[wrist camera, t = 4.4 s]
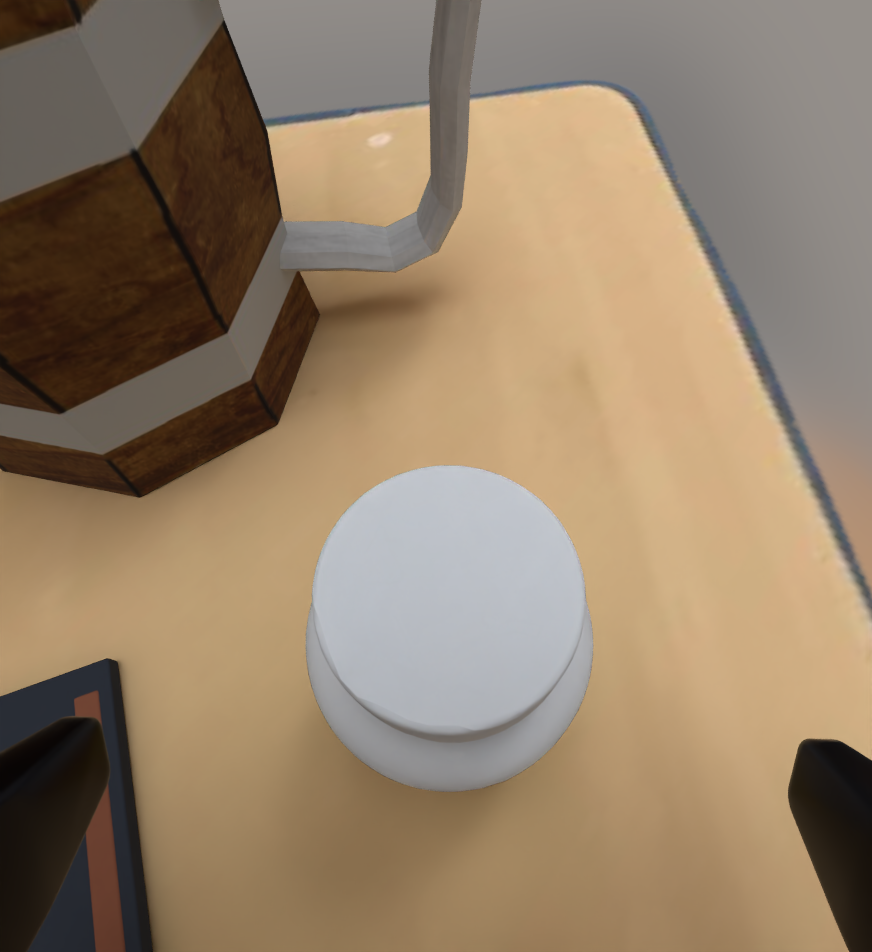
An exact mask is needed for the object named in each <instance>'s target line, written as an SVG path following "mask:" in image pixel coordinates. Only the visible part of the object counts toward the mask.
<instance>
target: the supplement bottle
mask: <svg viewBox="0 0 872 952" xmlns="http://www.w3.org/2000/svg"><path fill="white" fill-rule="evenodd" d="M306 658H307V666H308V673H309V677H310V682H311V686H312V689H313V692H314V695H315V698H316V701H317V703H318V705H319V708H320V710H321V712H322V713H323V715H324V717H325V719H326V721H327V722H328V724H329V726H330V728H331V729H332V730H333V732H334V733H335V734H336V736H337V737H338V738H339V739H340V741H341V742H342V743H343V744H344V745H345V746H346V747H347V748H348V749H349V750H350V751H351V752H352V753H353V754H354V755H355V756H356V757H357V758H358V759H360V760H361V761H362V762H363V763H365V764H366V765H367V766H369V767H370V768H372V769H373V770H375V771H377V772H378V773H380V774H382V775H383V776H385V777H387V778H389V779H391V780H394V781H396V782H399V783H402V784H405V785H408V786H411V787H414V788H418V789H424V790H430V791H439V792H458V791H467V790H475V789H480V788H485V787H488V786H491V785H494V784H497V783H500V782H503V781H506V780H508V779H510V778H512V777H514V776H516V775H517V774H519V773H521V772H522V771H524V770H525V769H527V768H529V767H530V766H531V765H533V764H534V763H535V762H537V761H538V760H539V759H540V758H541V757H542V756H544V755H545V754H546V753H547V752H548V751H549V750H550V749H551V748H552V747H553V746H554V745H555V743H556V742H557V741H558V740H559V739H560V738H561V736H562V735H563V733H564V732H565V731H566V729H567V728H568V726H569V725H570V723H571V722H572V720H573V718H574V716H575V715H576V713H577V711H578V710H579V707H580V705H581V703H582V700H583V698H584V695H585V692H586V689H587V686H588V682H589V678H590V673H591V667H592V658H593V632H592V623H591V618H590V613H589V609H588V605H587V602H586V594H585V583H584V576H583V572H582V568H581V564H580V561H579V558H578V555H577V552H576V550H575V547H574V545H573V543H572V541H571V539H570V537H569V535H568V534H567V532H566V530H565V529H564V527H563V525H562V524H561V522H560V521H559V520H558V518H557V517H556V516H555V515H554V514H553V512H552V511H551V510H550V509H549V508H548V507H547V506H546V505H545V504H544V503H543V502H542V501H541V500H540V499H539V498H538V497H536V496H535V495H534V494H532V493H531V492H530V491H528V490H527V489H525V488H524V487H522V486H521V485H519V484H517V483H515V482H513V481H512V480H510V479H508V478H505V477H503V476H501V475H498V474H496V473H493V472H490V471H487V470H483V469H478V468H472V467H466V466H451V465H444V466H431V467H424V468H420V469H415V470H412V471H408V472H405V473H402V474H398V475H396V476H394V477H392V478H390V479H387V480H385V481H384V482H382V483H380V484H378V485H377V486H375V487H373V488H372V489H370V490H369V491H367V492H366V493H364V494H363V495H362V496H361V497H360V498H359V499H358V500H357V501H355V502H354V503H353V504H352V505H351V506H350V507H349V508H348V509H347V510H346V511H345V512H344V514H343V515H342V516H341V518H340V519H339V520H338V522H337V523H336V525H335V526H334V528H333V529H332V531H331V533H330V534H329V536H328V538H327V539H326V542H325V544H324V546H323V548H322V551H321V553H320V556H319V559H318V563H317V566H316V570H315V575H314V581H313V588H312V603H311V607H310V612H309V616H308V622H307V630H306Z"/></svg>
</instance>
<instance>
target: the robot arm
mask: <svg viewBox="0 0 872 952" xmlns="http://www.w3.org/2000/svg"><path fill="white" fill-rule="evenodd" d="M109 777H110V762H109V757H108V752H107V748H106V743H105V738H104V734H103V729H102V725H101V723H100V721H99V720H98V719H97V718H94V717H83V716H67V717H63V718H61V719H59V720H57V721H55V722H53V723H51V724H50V725H48V726H46V727H44V728H43V729H41V730H39V731H37V732H35V733H34V734H32V735H30V736H28V737H27V738H25V739H23V740H21V741H20V742H18V743H16V744H14V745H12V746H11V747H9V748H7V749H5V750H4V751H2V752H0V952H27V951H28V950H29V948H30V946H31V944H32V942H33V941H34V939H35V937H36V935H37V934H38V932H39V930H40V928H41V926H42V924H43V922H44V921H45V919H46V917H47V915H48V913H49V911H50V909H51V907H52V905H53V903H54V901H55V899H56V897H57V895H58V893H59V891H60V888H61V886H62V884H63V882H64V880H65V878H66V875H67V873H68V871H69V869H70V867H71V864H72V862H73V860H74V858H75V856H76V853H77V851H78V849H79V847H80V845H81V842H82V840H83V838H84V836H85V834H86V831H87V829H88V827H89V825H90V823H91V820H92V818H93V816H94V814H95V812H96V810H97V807H98V805H99V803H100V801H101V799H102V796H103V794H104V792H105V790H106V787H107V785H108V781H109ZM788 799H789V805H790V808H791V811H792V814H793V817H794V819H795V821H796V824H797V826H798V829H799V831H800V834H801V836H802V839H803V841H804V844H805V846H806V849H807V851H808V854H809V856H810V859H811V861H812V864H813V866H814V869H815V871H816V873H817V876H818V878H819V881H820V883H821V886H822V888H823V891H824V893H825V896H826V898H827V901H828V903H829V906H830V908H831V911H832V913H833V916H834V918H835V920H836V923H837V925H838V928H839V930H840V932H841V934H842V937H843V939H844V941H845V944H846V946H847V948H848V950H849V952H872V760H870V759H868V758H867V757H865V756H864V755H862V754H860V753H859V752H857V751H856V750H854V749H853V748H851V747H849V746H848V745H846V744H844V743H843V742H841V741H838V740H833V739H806V740H803V741H802V742H801V743H800V745H799V747H798V751H797V755H796V759H795V763H794V767H793V771H792V775H791V779H790V783H789V788H788Z"/></svg>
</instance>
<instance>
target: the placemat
mask: <svg viewBox="0 0 872 952" xmlns="http://www.w3.org/2000/svg"><path fill="white" fill-rule="evenodd" d="M67 716H83V717H94V718H97V719H98V720H99V721H100V723H101V725H102V729H103V734H104V738H105V743H106V748H107V752H108V757H109V762H110V777H109V781H108V785H107V787H106V790H105V792H104V794H103V796H102V799H101V801H100V803H99V805H98V807H97V810H96V812H95V814H94V816H93V818H92V820H91V823H90V825H89V827H88V829H87V831H86V834H85V836H84V838H83V840H82V842H81V845H80V847H79V849H78V851H77V853H76V856H75V858H74V860H73V862H72V864H71V867H70V869H69V871H68V873H67V875H66V878H65V880H64V882H63V884H62V886H61V888H60V891H59V893H58V895H57V897H56V899H55V901H54V903H53V905H52V907H51V909H50V911H49V913H48V915H47V917H46V919H45V921H44V922H43V924H42V926H41V928H40V930H39V932H38V934H37V935H36V937H35V939H34V941H33V942H32V944H31V946H30V948H29V950H28V951H27V952H153V949H152V941H151V933H150V924H149V916H148V908H147V900H146V891H145V883H144V875H143V867H142V859H141V850H140V842H139V834H138V826H137V817H136V809H135V801H134V793H133V785H132V776H131V768H130V760H129V752H128V743H127V735H126V727H125V719H124V711H123V702H122V694H121V686H120V678H119V669H118V663H117V661H115V660H112V659H108V658H107V659H104V660H101V661H98V662H96V663H93V664H90V665H87V666H84V667H82V668H79V669H76V670H73V671H70V672H68V673H65V674H62V675H59V676H57V677H54V678H51V679H48V680H45V681H43V682H40V683H37V684H34V685H31V686H29V687H26V688H23V689H20V690H17V691H15V692H12V693H9V694H6V695H3V696H1V697H0V752H2V751H4V750H5V749H7V748H9V747H11V746H12V745H14V744H16V743H18V742H20V741H21V740H23V739H25V738H27V737H28V736H30V735H32V734H34V733H35V732H37V731H39V730H41V729H43V728H44V727H46V726H48V725H50V724H51V723H53V722H55V721H57V720H59V719H61V718H63V717H67Z"/></svg>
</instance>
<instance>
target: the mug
mask: <svg viewBox="0 0 872 952" xmlns="http://www.w3.org/2000/svg"><path fill="white" fill-rule="evenodd" d="M480 7H481V0H436V8H435V17H434V26H433V36H432V44H431V53H430V66H429V89H430V90H429V92H430V151H431V176H430V178H429V181H428V183H427V186H426V189H425V191H424V194H423V196H422V199H421V202H420V204H419V207H418V209H417V212H415V213H413V214H411V215H409V216H407V217H405V218H403V219H401V220H399V221H397V222H395V223H393V224H391V225H389V226H387V227H380V226H373V225H366V224H358V223H351V222H344V221H319V222H284V221H283V217H282V213H281V207H280V201H279V196H278V190H277V184H276V178H275V173H274V167H273V161H272V155H271V150H270V144H269V138H268V133H267V129H266V126H265V124H264V121H263V119H262V116H261V114H260V111H259V109H258V106H257V103H256V101H255V98H254V95H253V93H252V90H251V88H250V86H249V83H248V80H247V77H246V75H245V73H244V70H243V67H242V65H241V62H240V59H239V57H238V54H237V52H236V49H235V46H234V44H233V41H232V39H231V36H230V34H229V31H228V28H227V26H226V23H225V21H224V18H223V14H222V12H221V8H220V4H219V1H218V0H0V469H1V470H2V471H7V472H12V473H17V474H22V475H27V476H33V477H38V478H43V479H48V480H53V481H58V482H64V483H69V484H74V485H79V486H84V487H90V488H95V489H100V490H105V491H110V492H116V493H121V494H126V495H131V496H136V497H141V496H143V495H145V494H147V493H149V492H151V491H153V490H154V489H156V488H158V487H160V486H162V485H164V484H166V483H168V482H170V481H171V480H173V479H175V478H177V477H179V476H181V475H183V474H185V473H186V472H188V471H190V470H192V469H194V468H196V467H198V466H200V465H202V464H203V463H205V462H207V461H209V460H211V459H213V458H215V457H217V456H219V455H220V454H222V453H224V452H226V451H228V450H230V449H232V448H234V447H236V446H237V445H239V444H241V443H243V442H245V441H247V440H249V439H251V438H252V437H254V436H256V435H258V434H260V433H262V432H264V431H266V430H268V429H269V428H271V427H273V426H275V425H277V424H278V422H279V419H280V417H281V414H282V411H283V409H284V406H285V404H286V401H287V398H288V396H289V393H290V391H291V388H292V385H293V383H294V380H295V378H296V375H297V372H298V370H299V367H300V365H301V362H302V359H303V357H304V354H305V352H306V349H307V347H308V344H309V341H310V339H311V336H312V334H313V331H314V328H315V326H316V323H317V321H318V318H319V315H320V314H319V312H318V310H317V308H316V306H315V303H314V301H313V299H312V297H311V295H310V293H309V291H308V289H307V287H306V284H305V282H304V280H303V278H302V276H301V274H300V272H299V271H338V270H350V271H372V272H395V273H396V272H398V271H400V270H402V269H404V268H406V267H408V266H410V265H412V264H414V263H416V262H418V261H420V260H422V259H424V258H426V257H428V256H430V255H433V254H435V253H437V252H438V251H439V249H440V247H441V245H442V243H443V242H444V240H445V238H446V236H447V234H448V232H449V230H450V228H451V226H452V225H453V223H454V221H455V219H456V217H457V215H458V213H459V211H460V209H461V208H462V199H463V190H464V181H465V171H466V162H467V152H468V128H469V103H470V81H471V73H472V66H473V58H474V51H475V44H476V37H477V29H478V22H479V14H480Z"/></svg>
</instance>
